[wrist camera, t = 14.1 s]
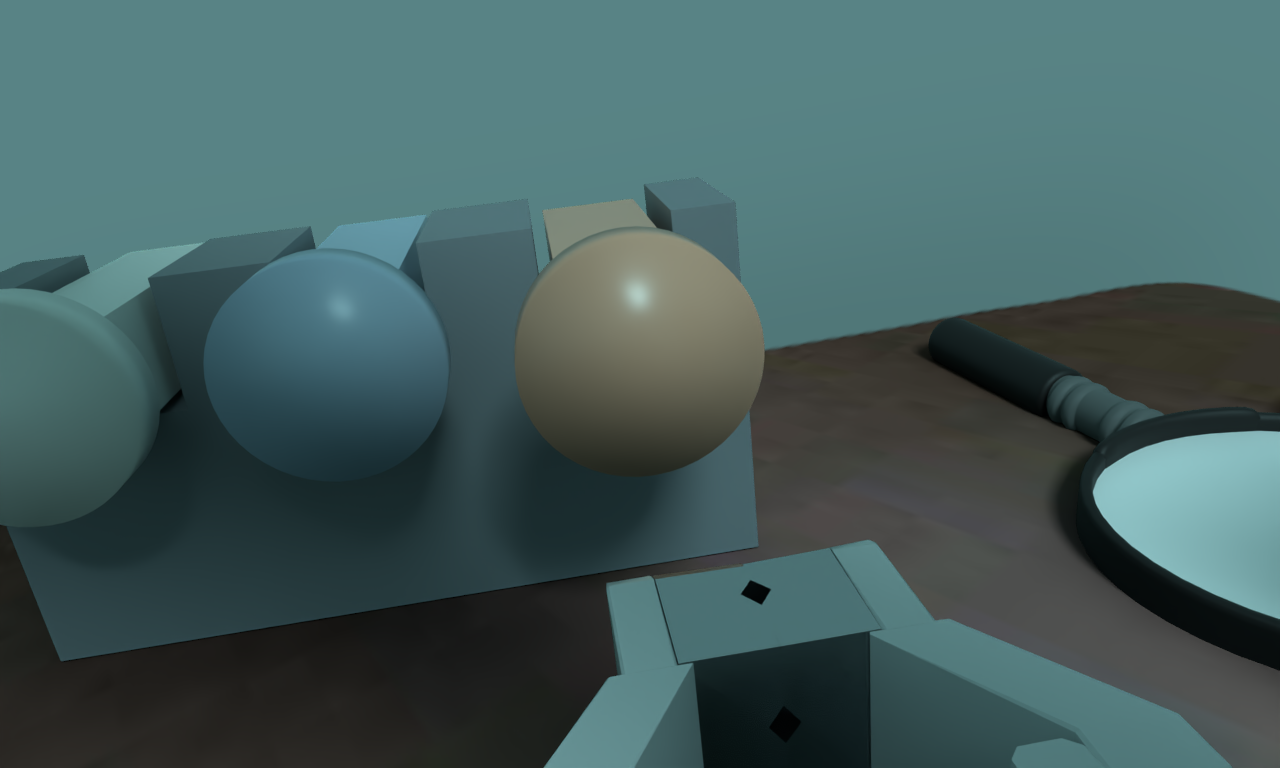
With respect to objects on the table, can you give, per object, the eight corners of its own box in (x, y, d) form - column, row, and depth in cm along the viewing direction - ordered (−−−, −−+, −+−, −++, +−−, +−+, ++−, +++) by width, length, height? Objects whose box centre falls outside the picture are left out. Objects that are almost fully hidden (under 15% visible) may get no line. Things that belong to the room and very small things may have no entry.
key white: (-72, 543, 19) (-170, 321, 18) (131, 372, 30) (82, 222, 28) (169, 507, 20) (96, 286, 18) (286, 351, 30) (247, 201, 29)
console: (60, 661, 25) (-82, 307, 22) (130, 566, 30) (22, 262, 26) (758, 546, 27) (735, 201, 23) (721, 474, 32) (698, 177, 28)
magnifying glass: (1066, 337, 42) (1070, 292, 41) (1819, 647, 20) (1858, 565, 19) (819, 389, 39) (818, 342, 38) (1385, 813, 17) (1409, 725, 17)
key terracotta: (534, 493, 19) (495, 255, 17) (525, 335, 29) (500, 178, 27) (770, 457, 19) (757, 221, 17) (678, 314, 30) (664, 158, 28)
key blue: (238, 497, 20) (174, 277, 18) (331, 345, 30) (295, 195, 29) (466, 462, 20) (424, 245, 19) (480, 324, 31) (454, 176, 29)
